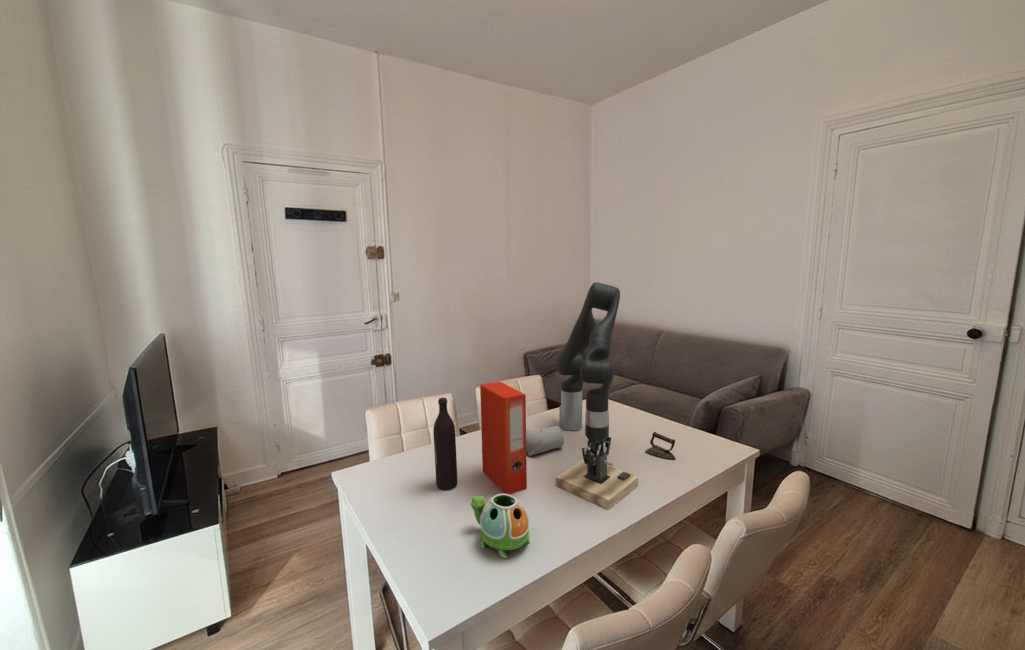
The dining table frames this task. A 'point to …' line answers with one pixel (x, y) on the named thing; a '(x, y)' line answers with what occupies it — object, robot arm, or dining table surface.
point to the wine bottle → (445, 449)
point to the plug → (600, 468)
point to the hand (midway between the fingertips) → (596, 471)
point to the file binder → (504, 436)
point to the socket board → (597, 484)
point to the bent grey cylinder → (543, 440)
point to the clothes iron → (660, 451)
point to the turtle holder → (501, 522)
